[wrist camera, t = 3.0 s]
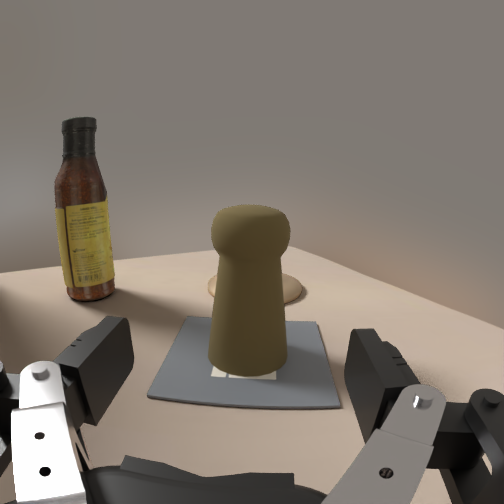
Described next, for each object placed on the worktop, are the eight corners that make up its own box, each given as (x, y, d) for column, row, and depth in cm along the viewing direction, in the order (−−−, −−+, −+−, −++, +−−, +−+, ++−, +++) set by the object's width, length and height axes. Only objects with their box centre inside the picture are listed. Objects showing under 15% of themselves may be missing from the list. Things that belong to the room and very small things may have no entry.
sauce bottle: (125, 287, 37) (121, 118, 32) (97, 307, 31) (88, 110, 26) (84, 281, 37) (78, 125, 33) (54, 298, 32) (44, 121, 27)
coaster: (199, 303, 33) (199, 298, 33) (215, 272, 44) (215, 268, 44) (306, 308, 33) (306, 303, 32) (297, 275, 43) (297, 271, 43)
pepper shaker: (273, 331, 27) (280, 201, 24) (299, 370, 21) (313, 212, 19) (203, 338, 26) (200, 202, 23) (213, 381, 20) (210, 212, 17)
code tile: (147, 396, 18) (146, 394, 18) (187, 318, 30) (187, 316, 30) (340, 407, 18) (340, 405, 18) (315, 323, 29) (315, 321, 29)
